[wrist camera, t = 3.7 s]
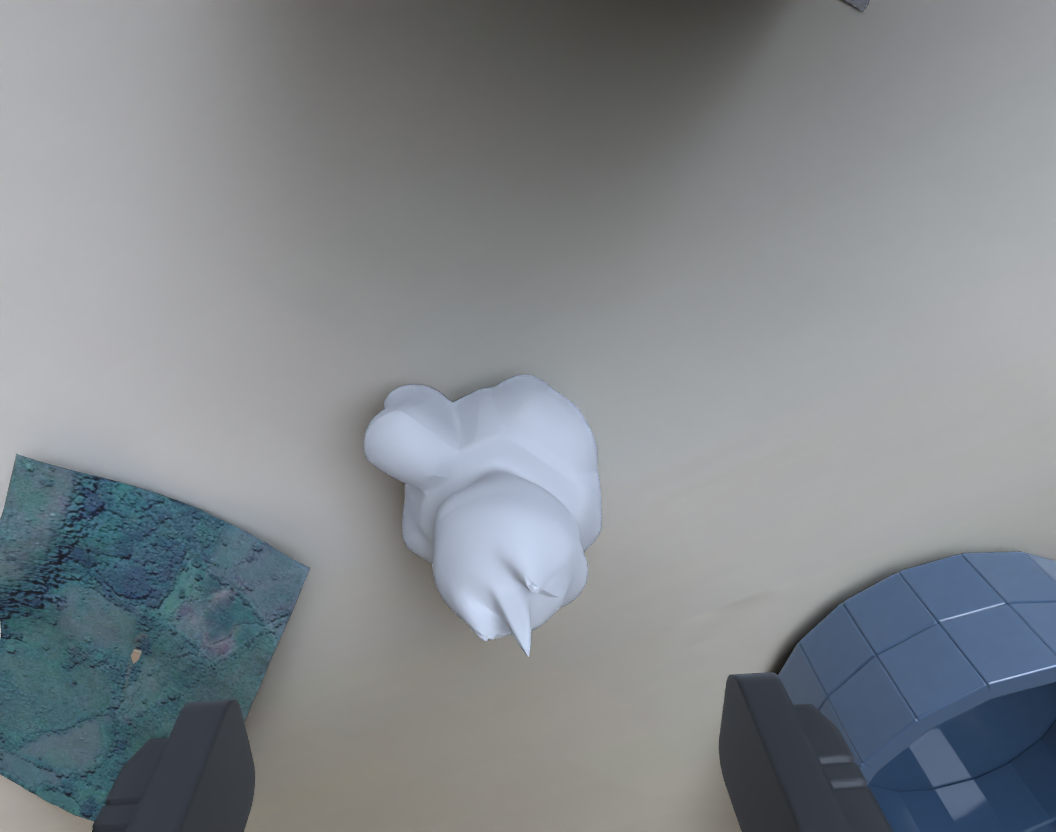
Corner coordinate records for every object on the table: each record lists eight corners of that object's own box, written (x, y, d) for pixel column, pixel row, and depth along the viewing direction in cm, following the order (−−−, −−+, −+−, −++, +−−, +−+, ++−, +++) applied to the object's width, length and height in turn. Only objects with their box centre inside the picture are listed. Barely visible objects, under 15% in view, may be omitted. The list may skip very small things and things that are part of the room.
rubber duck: (520, 557, 23) (536, 791, 16) (331, 439, 21) (250, 645, 14) (641, 428, 21) (721, 624, 14) (448, 287, 19) (426, 429, 12)
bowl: (787, 545, 23) (863, 670, 18) (1167, 534, 24) (1335, 653, 19) (739, 812, 28) (790, 963, 24) (1052, 798, 29) (1161, 943, 24)
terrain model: (205, 813, 27) (184, 864, 25) (-26, 745, 25) (-65, 794, 24) (327, 530, 22) (310, 568, 20) (51, 426, 21) (9, 458, 19)
